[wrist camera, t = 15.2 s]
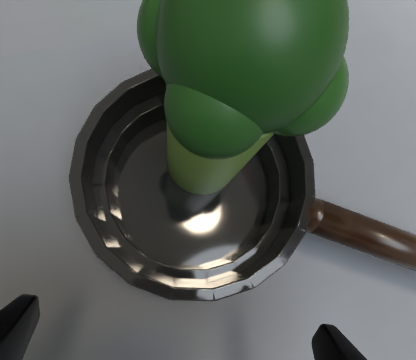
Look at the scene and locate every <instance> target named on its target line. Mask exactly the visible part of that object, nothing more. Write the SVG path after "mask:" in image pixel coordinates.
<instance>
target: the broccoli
mask: <svg viewBox="0 0 416 360" xmlns="http://www.w3.org/2000/svg"><path fill="white" fill-rule="evenodd" d="M348 30H349V9H348V3H347V0H143V1H142V4H141V6H140V9H139V13H138V19H137V35H138V41H139V45H140V48H141V51H142V53H143V55H144V58H145V59H146V61H147V62H148V64H149V65H150V67H151V68H152V69H153V70H154V71H155V72H156V73H157V74H158V75H159V76H161V77H162V78H163V79H164V81H165V83H166V92H165V98H164V110H165V117H166V121H167V166H168V170H169V173H170V175H171V177H172V179H173V180H174V181H175V183H176V184H177V185H178V186H179V187H181V188H182V189H184V190H185V191H187V192H190V193H193V194H198V195H207V194H212V193H215V192H217V191H219V190H221V189H222V188H224V187H225V186H226V185H227V184H228V183H229V182H230V181H231V180H232V179H233V177H234V176H235V175H236V174H237V173H238V172H239V171H240V170H241V169H242V168H243V167H244V166H245V165H246V163H247V162H248V161H249V160H250V159H251V158H252V157H253V156H254V155H255V154H256V153H257V152H258V151H259V150H260V148H261V147H262V146H263V145H264V144H265V143H266V142H267V141H268V140H269V139H270V138H271V137H272V136H273V134H277V135H282V136H300V135H305V134H308V133H311V132H313V131H316V130H317V129H319V128H321V127H322V126H324V125H325V124H326V123H327V122H329V121H330V120H331V119H332V118H333V117H334V115H335V114H336V113H337V112H338V110H339V109H340V107H341V105H342V103H343V101H344V99H345V96H346V93H347V89H348V81H349V74H348V68H347V64H346V60H345V58H344V52H345V49H346V44H347V39H348Z"/></svg>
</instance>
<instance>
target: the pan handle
mask: <svg viewBox="0 0 416 360" xmlns="http://www.w3.org/2000/svg"><path fill="white" fill-rule="evenodd" d="M309 217H310V220H309V224H308V228H307V231H308V232H311V233H313V234H316V235H319V236H321V237H324V238H327V239H330V240H332V241H335V242H338V243H341V244H343V245H346V246H349V247H351V248H354V249H357V250H360V251H362V252H365V253H368V254H371V255H373V256H376V257H379V258H381V259H384V260H387V261H390V262H392V263H395V264H398V265H400V266H403V267H406V268H409V269H411V270H414V271H416V235H414V234H412V233H409V232H406V231H404V230H401V229H398V228H396V227H393V226H390V225H388V224H385V223H382V222H380V221H377V220H374V219H372V218H369V217H366V216H364V215H361V214H358V213H356V212H353V211H350V210H348V209H345V208H342V207H340V206H337V205H334V204H332V203H329V202H326V201H324V200H321V199H317V198H315V201H314V203H313V204H312V205H311V206H310V208H309Z"/></svg>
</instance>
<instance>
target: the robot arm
mask: <svg viewBox="0 0 416 360" xmlns="http://www.w3.org/2000/svg"><path fill="white" fill-rule="evenodd" d="M39 317H40V309H39V300H38V297H37V296H36V295H28V294H23V295H20V296H19V297H17V298H16V299H15V300H13V301H12V302H11V303H9V304H8V305H7V306H5V307H4V308H3V309H1V310H0V360H22V359H23V356H24V354H25V351H26V349H27V347H28V344H29V342H30V340H31V337H32V335H33V333H34V330H35V328H36V325H37V323H38V320H39ZM312 349H313V354H314V359H315V360H367V359H366V358H365V357H364V356H363V355H362V354H361V353H360V352H359V351H358V350H357V349H356V348H355V346H354V345H353V344H352V343H351V342H350V341H349V340H348V339H347V338H346V337H345V336H344V335H343V334H342V333H341V332H340V331H339V330H338V329H337V328H336V327H335V326H334V325H329V324H321V325H320V326H319V328H318V330H317V331H316V333H315V335H314V336H313V338H312Z"/></svg>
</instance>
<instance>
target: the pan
mask: <svg viewBox="0 0 416 360" xmlns="http://www.w3.org/2000/svg"><path fill="white" fill-rule="evenodd" d="M165 92H166V83H165V81H164V79H163V78H162V77H161V76H159V75H158V74H157V73H156V72H155V71H154V70H153V69H150V70H148V71H145V72H143V73H141V74H139V75H136V76H134V77H132V78H130V79H128V80H125V81H123V83H120V84H119V85H118V86H117V87H116V88H115V89H114V90H113V91H111V92H110V93H109V94H108V95H107V96H106V97H105V98H104V99H102V100H101V101H100V102H99V103H98V104H97V105H96V106H95V107H94V108H93V110H92V112H91V114H90V115H89V117H88V119H87V121H86V122H85V124H84V126H83V128H82V129H81V131H80V133H79V135H78V136H77V138H76V142H75V147H74V152H73V158H72V163H71V168H70V174H69V182H70V188H71V194H72V200H73V206H74V212H75V217H76V220H77V222H78V224H79V226H80V227H81V229H82V231H83V233H84V235H85V236H86V238H87V240H88V242H89V243H90V245H91V247H92V249H93V251H94V252H95V254H96V255H97V257H98V258H100V259H101V260H102V261H103V262H104V263H105V264H107V265H108V266H109V267H110V268H111V269H112V270H114V271H115V272H116V273H117V274H118V275H119V276H120V277H122V278H123V279H124V280H125V281H126V282H127V283H129V284H130V285H132V286H135V287H138V288H140V289H143V290H145V291H148V292H151V293H153V294H156V295H158V296H161V297H164V298H166V299H169V300H181V301H217V300H220V299H223V298H226V297H229V296H232V295H235V294H238V293H241V292H244V291H247V290H251V289H253V288H255V287H256V286H258V285H259V284H260V283H262V282H263V281H264V280H266V279H267V278H268V277H269V276H271V275H272V274H273V273H275V272H276V271H277V270H279V269H280V268H281V267H283V266H284V265H285V263H286V262H287V261H288V259H289V258H290V256H291V255H292V253H293V252H294V250H295V249H296V247H297V246H298V244H299V243H300V241H301V240H302V238H303V237H304V235H305V232H306V231H307V228H308V224H309V220H310V217H309V208H310V206H311V205H312V204H313V203H314V201H315V180H314V163H313V159H312V156H311V153H310V151H309V148H308V145H307V142H306V140H305V137H304V135H300V136H282V135H277V134H273V136H272V137H271V138H270V139H269V140H268V141H267V142H266V143H265V144H264V145H263V146H262V147H261V148H260V150H259V151H258V152H257V153H256V154H255V155H254V156H253V157H252V158H251V159H250V160H249V161H248V162H247V163H246V165H245V166H244V167H243V168H242V169H241V170H240V171H239V172H238V173H237V174H236V175H235V176H234V177H233V179H232V180H231V181H230V182H229V183H228V184H227V185H226V186H225V187H224V188H222V189H221V190H219V191H217V192H215V193H212V194H207V195H198V194H193V193H190V192H187V191H185V190H184V189H182V188H181V187H179V186H178V185H177V184H176V183H175V181H174V180H173V179H172V177H171V175H170V173H169V170H168V166H167V121H166V117H165V110H164V98H165Z"/></svg>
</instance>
